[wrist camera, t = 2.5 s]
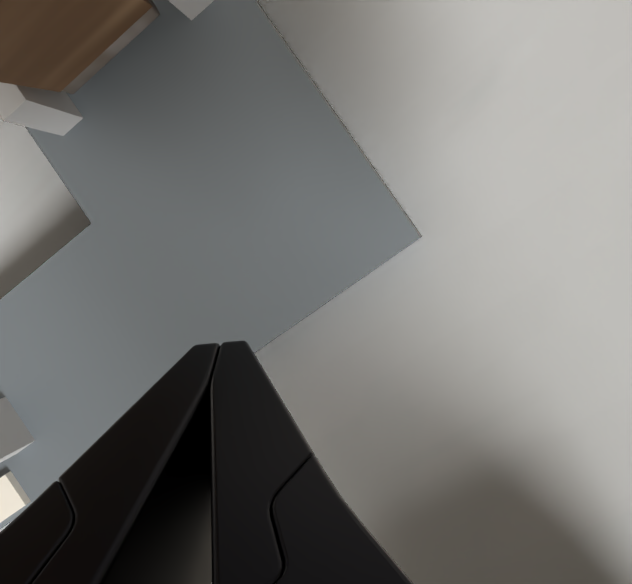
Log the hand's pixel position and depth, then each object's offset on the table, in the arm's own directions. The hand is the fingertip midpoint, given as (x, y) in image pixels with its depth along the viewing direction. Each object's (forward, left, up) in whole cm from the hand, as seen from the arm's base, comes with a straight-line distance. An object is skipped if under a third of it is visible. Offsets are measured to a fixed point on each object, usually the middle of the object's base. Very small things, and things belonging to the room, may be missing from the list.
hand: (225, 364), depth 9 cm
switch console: (+1, +11, -11) cm, 16 cm away
